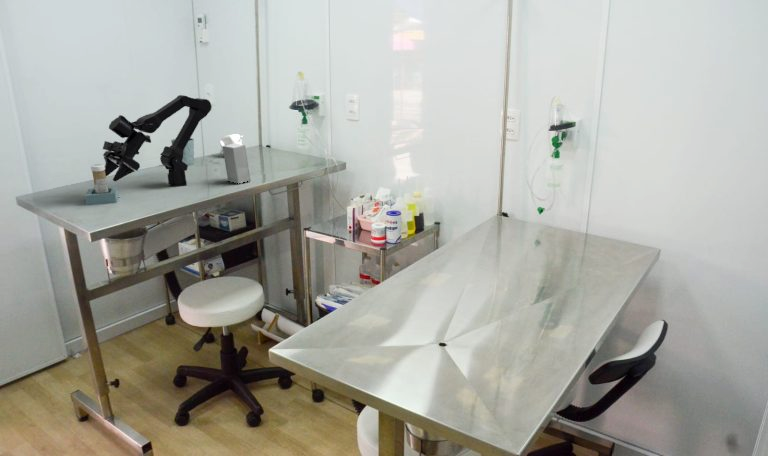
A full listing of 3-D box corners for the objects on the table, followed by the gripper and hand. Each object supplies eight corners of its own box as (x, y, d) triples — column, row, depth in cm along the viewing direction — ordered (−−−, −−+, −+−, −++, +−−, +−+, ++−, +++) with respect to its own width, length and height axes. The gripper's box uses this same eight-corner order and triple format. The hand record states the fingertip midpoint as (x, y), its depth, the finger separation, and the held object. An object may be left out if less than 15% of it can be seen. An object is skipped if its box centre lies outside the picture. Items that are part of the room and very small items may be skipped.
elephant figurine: (240, 161, 290) (231, 141, 291) (256, 147, 277) (247, 126, 278) (219, 165, 282) (210, 144, 282) (235, 151, 269) (226, 129, 269)
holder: (118, 195, 215) (117, 186, 214) (116, 202, 206) (114, 193, 205) (90, 197, 212) (88, 189, 210) (86, 204, 203) (84, 195, 201)
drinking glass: (170, 165, 264) (166, 140, 260) (181, 161, 273) (178, 137, 269) (189, 166, 262) (186, 141, 258) (200, 162, 271) (197, 138, 267)
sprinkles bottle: (97, 198, 210) (91, 164, 206) (110, 197, 212) (105, 163, 207) (96, 202, 206) (89, 166, 202) (109, 201, 207) (103, 166, 203)
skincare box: (251, 181, 234) (248, 144, 229) (236, 185, 230) (233, 147, 224) (239, 178, 240) (236, 142, 235) (225, 181, 235) (221, 144, 230)
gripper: (103, 130, 212) (79, 163, 208) (126, 135, 201) (101, 170, 197) (127, 147, 221) (104, 179, 217) (150, 153, 209) (126, 187, 205)
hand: (108, 178), depth 208 cm, fingers open, 9 cm apart
